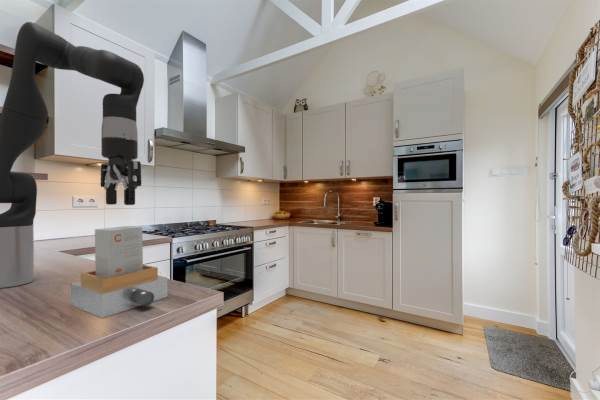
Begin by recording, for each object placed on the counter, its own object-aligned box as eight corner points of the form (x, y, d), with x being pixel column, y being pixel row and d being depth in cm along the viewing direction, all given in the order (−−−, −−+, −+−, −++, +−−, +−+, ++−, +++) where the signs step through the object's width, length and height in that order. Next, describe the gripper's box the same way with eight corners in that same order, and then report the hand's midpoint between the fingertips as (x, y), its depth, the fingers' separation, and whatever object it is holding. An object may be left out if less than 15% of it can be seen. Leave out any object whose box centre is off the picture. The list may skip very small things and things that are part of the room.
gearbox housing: (70, 304, 67) (70, 273, 67) (134, 287, 80) (134, 261, 80) (111, 322, 57) (111, 285, 57) (177, 299, 70) (177, 269, 70)
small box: (127, 274, 75) (126, 225, 75) (143, 277, 72) (143, 226, 72) (94, 283, 67) (93, 228, 67) (111, 286, 65) (111, 229, 65)
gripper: (88, 139, 70) (89, 204, 70) (119, 132, 63) (119, 205, 63) (120, 144, 76) (121, 204, 76) (151, 138, 69) (151, 204, 69)
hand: (120, 204), depth 70 cm, fingers open, 8 cm apart
